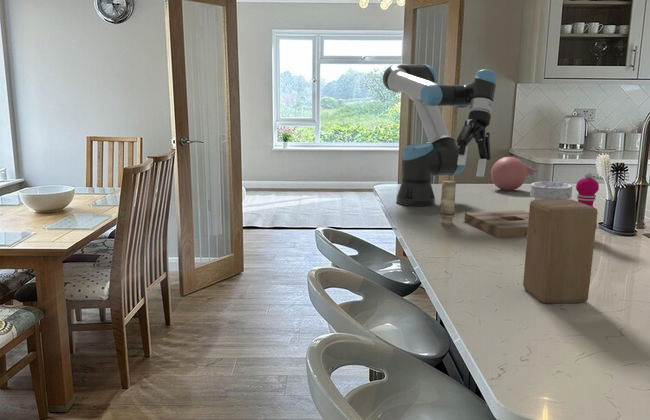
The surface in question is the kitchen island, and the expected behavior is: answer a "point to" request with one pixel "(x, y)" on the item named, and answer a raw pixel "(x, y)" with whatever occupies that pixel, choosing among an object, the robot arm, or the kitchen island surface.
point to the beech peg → (447, 202)
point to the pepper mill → (587, 190)
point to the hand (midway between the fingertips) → (470, 171)
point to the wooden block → (559, 250)
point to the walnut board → (500, 222)
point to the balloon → (510, 173)
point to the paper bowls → (551, 190)
